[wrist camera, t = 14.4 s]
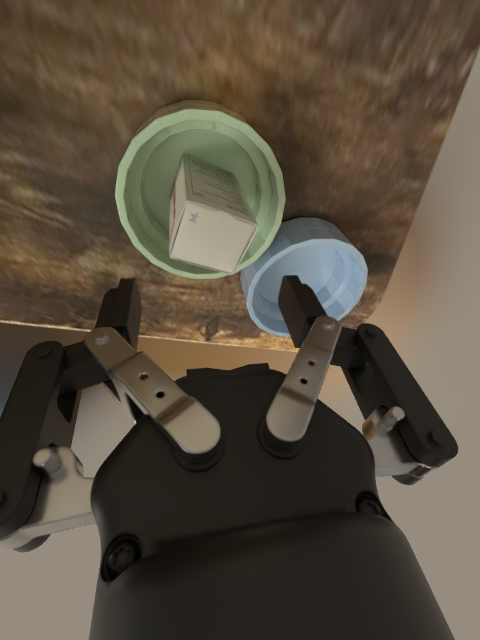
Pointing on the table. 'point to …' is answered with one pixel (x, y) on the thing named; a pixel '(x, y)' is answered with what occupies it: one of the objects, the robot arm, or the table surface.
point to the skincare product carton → (208, 217)
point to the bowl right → (304, 271)
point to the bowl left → (205, 144)
